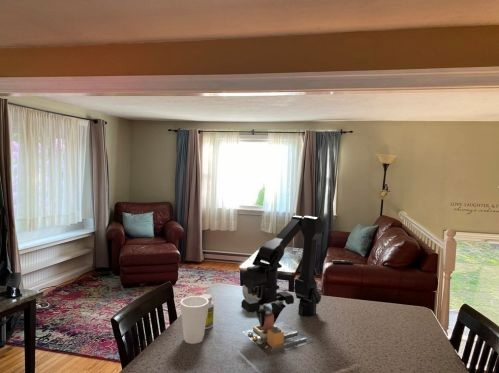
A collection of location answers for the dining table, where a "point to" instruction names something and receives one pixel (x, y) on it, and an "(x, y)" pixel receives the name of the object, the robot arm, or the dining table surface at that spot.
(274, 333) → the toggle
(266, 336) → the socket
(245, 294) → the teacup
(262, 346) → the panel
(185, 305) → the foam cup
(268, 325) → the salmon cylinder
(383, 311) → the dining table surface
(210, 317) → the pill bottle
